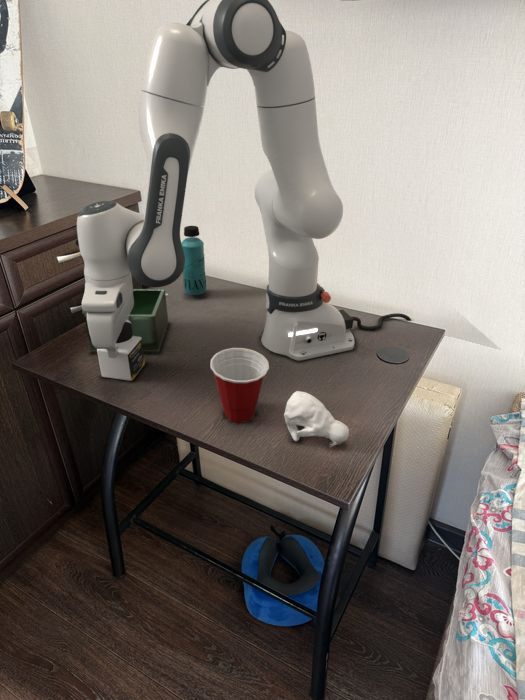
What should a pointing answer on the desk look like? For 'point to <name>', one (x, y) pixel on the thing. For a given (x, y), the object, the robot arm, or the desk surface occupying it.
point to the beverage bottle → (193, 262)
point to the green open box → (147, 319)
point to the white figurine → (312, 419)
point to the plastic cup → (239, 381)
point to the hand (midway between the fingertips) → (119, 345)
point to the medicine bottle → (123, 356)
